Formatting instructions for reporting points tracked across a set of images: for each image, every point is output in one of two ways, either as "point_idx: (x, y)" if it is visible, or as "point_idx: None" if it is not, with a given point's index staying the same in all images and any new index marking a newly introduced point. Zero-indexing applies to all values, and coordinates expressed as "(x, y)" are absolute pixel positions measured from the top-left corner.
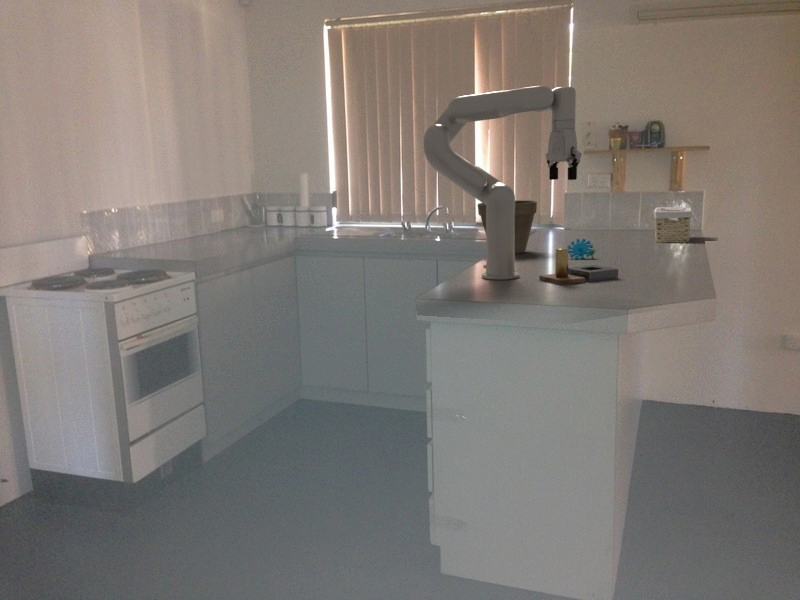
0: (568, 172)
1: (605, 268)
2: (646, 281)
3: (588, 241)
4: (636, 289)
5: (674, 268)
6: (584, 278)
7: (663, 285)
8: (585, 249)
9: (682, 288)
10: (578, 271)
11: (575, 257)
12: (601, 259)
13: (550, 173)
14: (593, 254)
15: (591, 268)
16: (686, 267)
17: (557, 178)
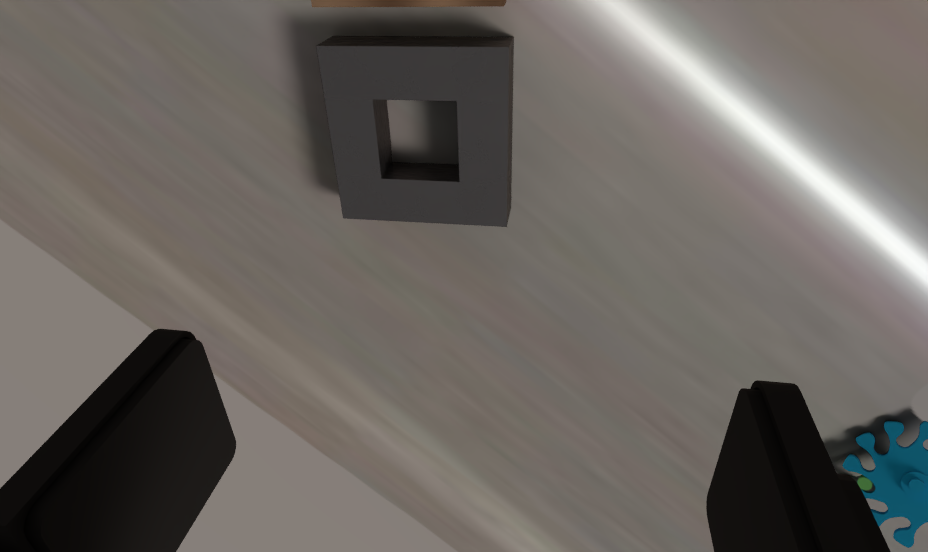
0: (77, 422)
1: (384, 190)
2: (244, 224)
3: (906, 540)
4: (93, 68)
5: (435, 462)
6: (312, 2)
7: (148, 207)
8: (884, 487)
9: (78, 210)
10: (399, 45)
11: (896, 424)
12: None
13: (799, 489)
14: None
15: (460, 171)
16: (431, 491)
17: (707, 503)
